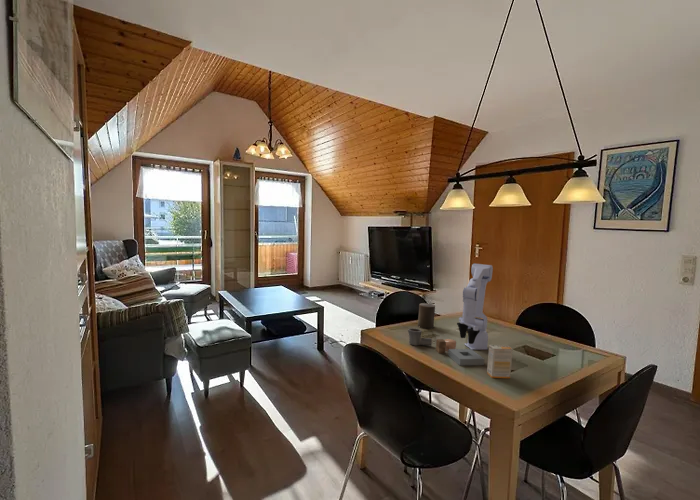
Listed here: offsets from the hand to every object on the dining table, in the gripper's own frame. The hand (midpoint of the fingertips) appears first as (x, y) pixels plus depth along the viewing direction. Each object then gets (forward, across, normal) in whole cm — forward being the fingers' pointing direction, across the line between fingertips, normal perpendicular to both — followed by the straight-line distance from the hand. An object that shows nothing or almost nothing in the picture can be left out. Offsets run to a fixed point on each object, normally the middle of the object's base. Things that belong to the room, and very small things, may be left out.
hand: (466, 340), depth 159 cm
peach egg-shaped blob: (+10, -12, -2) cm, 15 cm away
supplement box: (+10, +17, +6) cm, 20 cm away
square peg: (+9, -10, -8) cm, 16 cm away
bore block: (+9, 0, 0) cm, 9 cm away
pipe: (+10, -20, -16) cm, 27 cm away
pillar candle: (+10, -51, +1) cm, 52 cm away
